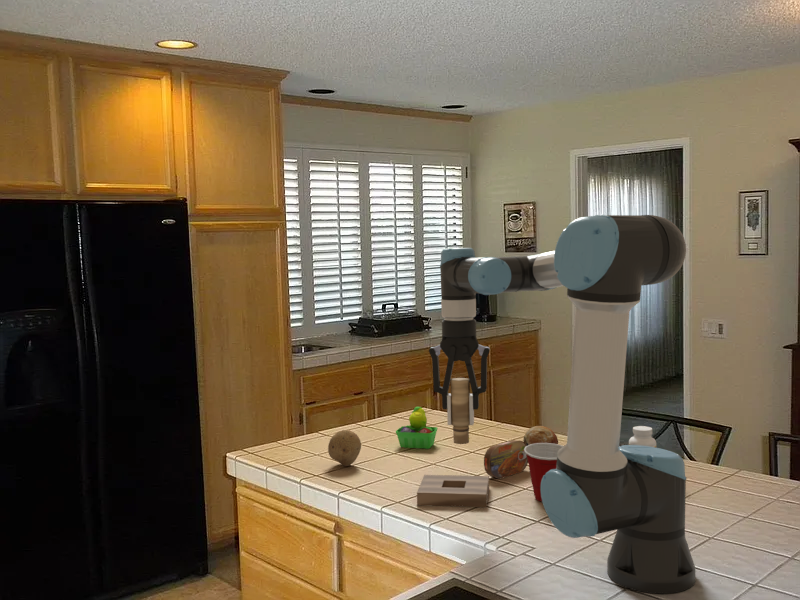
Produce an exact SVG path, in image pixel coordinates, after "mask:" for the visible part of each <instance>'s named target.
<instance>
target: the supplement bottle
mask: <svg viewBox="0 0 800 600" xmlns="http://www.w3.org/2000/svg"><path fill="white" fill-rule="evenodd" d="M632 433H633V436H631V437H630V438H629V439H628V445H641V446H649V447H655V448H657V441H656V439H655V438H654V437H652V435H653V428H652V427H650V426H644V425H638V426H633V427H632Z"/></svg>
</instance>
